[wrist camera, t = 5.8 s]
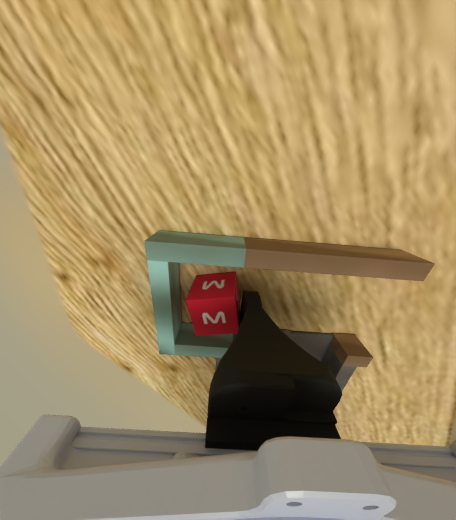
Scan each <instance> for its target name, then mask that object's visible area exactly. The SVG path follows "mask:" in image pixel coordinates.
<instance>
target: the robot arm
mask: <svg viewBox="0 0 456 520" xmlns="http://www.w3.org/2000/svg"><path fill="white" fill-rule="evenodd" d="M341 396H342V390H341V388H340V386H339V384H338V382H337V380H336V378H335V377H334V375H333V373H332V372H331V370H330V368H329V367H328V366H327V365H325V364H324V363H322V362H321V361H319V360H318V359H316V358H315V357H313V356H312V355H310V354H309V353H308V352H306V351H305V350H304V349H302V348H301V347H300V346H298V345H297V344H296V343H295V342H294V341H292V340H291V339H290V338H289V337H288V336H287V335H286V334H285V333H284V332H282V331H281V329H280V328H279V327H278V326H277V325H276V324H275V323H274V322H273V321H272V320H271V318H270V317H269V316H268V315H267V313H266V312H265V311H264V309H263V308H262V304H261V299H260V296H259V294H258V292H253V291H243V295H242V302H241V309H240V328H239V330H238V332H237V334H236V336H235V338H234V340H233V341H232V343H231V345H230V346H229V348H228V349H227V351H226V352H225V354H224V355H223V356H222V358H221V359H220V362H219V364H218V367H217V369H216V371H215V373H214V376H213V379H212V382H211V385H210V391H209V401H208V418H207V428H206V433H205V434H204V433H187V432H168V431H150V430H131V429H114V428H95V427H81V426H80V422H79V421H78V420H77V419H76V418H74V417H72V416H62V415H42V416H41V417H40V418H39V419H38V420H37V421H36V423H35V424H34V425H33V427H32V428H31V429H30V430H29V432H28V433H27V434H26V435H25V437H24V438H23V439H22V440H21V441H20V443H19V444H18V445H17V446H16V448H15V449H14V450H13V451H12V453H11V454H10V455H9V456H8V458H7V459H6V460H5V462H4V463H3V464H2V465H1V466H0V520H456V441H454V442H452V443H451V444H450V445H449V447H443V446H425V445H407V444H388V443H370V442H358V441H353V440H346V439H341V438H340V436H339V433H338V431H337V429H336V426H335V424H336V423H337V420H336V418H335V416H334V413H333V410H334V409H335V407H336V406H337V404H338V403H339V401H340V399H341Z"/></svg>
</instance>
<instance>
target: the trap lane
mask: <svg viewBox="0 0 456 520" xmlns="http://www.w3.org/2000/svg"><path fill="white" fill-rule="evenodd" d="M145 248H146V255H147V263H148V270H149V278H150V285H151V293H152V300H153V308H154V315H155V323H156V330H157V338H158V345H159V353H160V354H167V355H182V356H198V357H214V358H217V359H216V369H217V367H218V364H219V362H220V359H221V358H222V356H223V355H224V354H225V352H226V351H227V349H228V348H229V346H230V345H231V343H232V341H233V340H234V338H235V336H236V334H220V335H200V336H196V333H195V330H194V327H193V324H192V323H182V321H181V300H180V279H179V263H189V264H202V265H215V266H228V267H241V268H254V269H268V270H281V271H294V272H307V273H320V274H334V275H347V276H360V277H373V278H386V279H400V280H413V281H424V279H425V278H426V276H427V275H428V273H429V272H430V270H431V269H432V267H433V266H434V263H432V262H430V261H427V260H425V259H422V258H420V257H417V256H415V255H412V254H410V253H407V252H405V251H403V250H398V249H385V248H373V247H360V246H348V245H335V244H323V243H310V242H298V241H285V240H273V239H260V238H248V237H235V236H223V235H210V234H198V233H185V232H173V231H160V230H159V231H158V232H157V233H155V234H154V235H152V236H151V237H149V238H148V239H147V240H145ZM281 331H282V332H284V333H285V334H286V335H287V336H288V337H289V338H290V339H291V340H292V341H294V342H295V343H296V344H297V345H298V346H300V347H301V348H302V349H304V350H305V351H306V352H308V353H309V354H310V355H312V356H313V357H315V358H316V359H318V360H319V361H321V362H322V363H324V364H325V365H327V366H328V367H329V368H330V370H331V372H332V373H333V375H334V377H335V378H336V380H337V382H338V384H339V386H340V388H341V390H343V388H344V387H345V385H346V384H347V382H348V380H349V379H350V377H351V375H352V374H353V372H354V371H355V369H356V367H367V366H368V364H369V363H370V361H371V360H372V358H373V357H372V355H371V354H370V353H369V352H368V350H367V349H366V348H365V347H364V345H363V344H362V343H361V342H360V341H359V339H358V338H357V337H356V336H355V334H341V333H332V334H328V333H314V332H299V331H290V330H282V329H281Z"/></svg>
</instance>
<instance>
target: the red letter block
mask: <svg viewBox="0 0 456 520" xmlns="http://www.w3.org/2000/svg"><path fill="white" fill-rule="evenodd" d="M186 304H187V307H188V311H189V314H190V317H191V320H192V324H193V327H194V330H195V333H196V336H200V335H220V334H237V332H238V330H239V328H240V300H239V293H238V286H237V278H236V272H229V273H218V274H208V275H197V276H196V278H195V280H194V283H193V285H192V287H191V289H190V292H189V294H188V296H187V298H186Z"/></svg>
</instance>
